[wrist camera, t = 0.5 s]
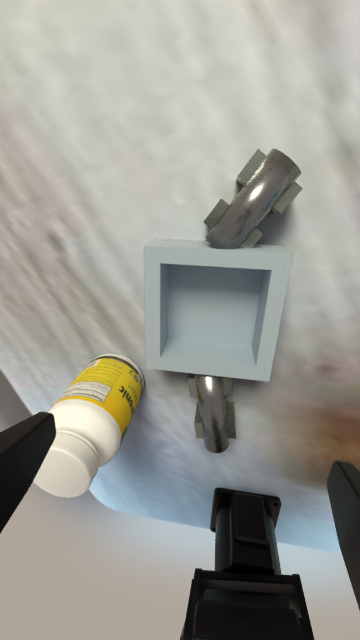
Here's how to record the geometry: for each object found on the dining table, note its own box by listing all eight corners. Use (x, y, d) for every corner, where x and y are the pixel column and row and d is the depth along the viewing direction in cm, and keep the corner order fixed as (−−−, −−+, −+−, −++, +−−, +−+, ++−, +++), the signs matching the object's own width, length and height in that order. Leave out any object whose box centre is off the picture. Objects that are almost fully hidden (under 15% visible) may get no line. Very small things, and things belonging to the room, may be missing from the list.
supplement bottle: (144, 407, 26) (101, 515, 17) (88, 396, 26) (17, 495, 17) (147, 357, 23) (101, 450, 14) (87, 346, 24) (5, 430, 15)
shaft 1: (235, 421, 25) (237, 453, 21) (199, 421, 25) (196, 452, 22) (229, 352, 22) (230, 377, 19) (190, 354, 23) (184, 378, 19)
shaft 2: (236, 257, 19) (239, 267, 16) (200, 227, 19) (195, 232, 16) (297, 185, 17) (314, 180, 14) (258, 150, 17) (266, 137, 13)
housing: (262, 355, 22) (269, 381, 18) (157, 344, 23) (146, 368, 20) (280, 244, 18) (293, 253, 15) (157, 238, 20) (143, 245, 16)
